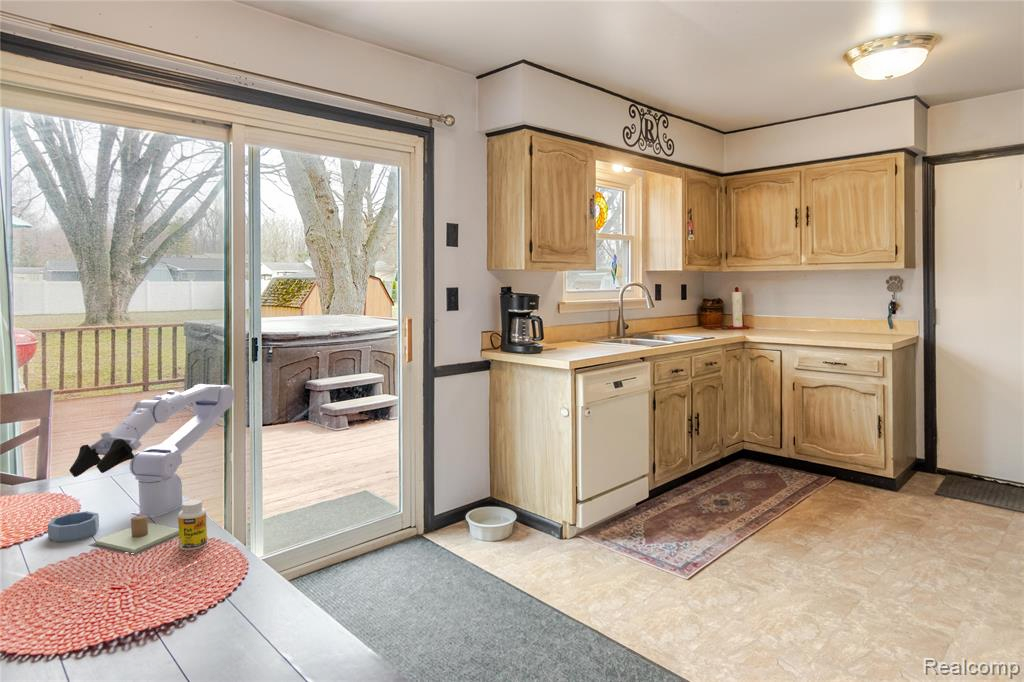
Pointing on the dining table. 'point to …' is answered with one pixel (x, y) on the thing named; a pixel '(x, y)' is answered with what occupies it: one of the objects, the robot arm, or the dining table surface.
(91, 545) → the mat
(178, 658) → the dining table surface
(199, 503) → the supplement bottle
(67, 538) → the bowl
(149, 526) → the lid
